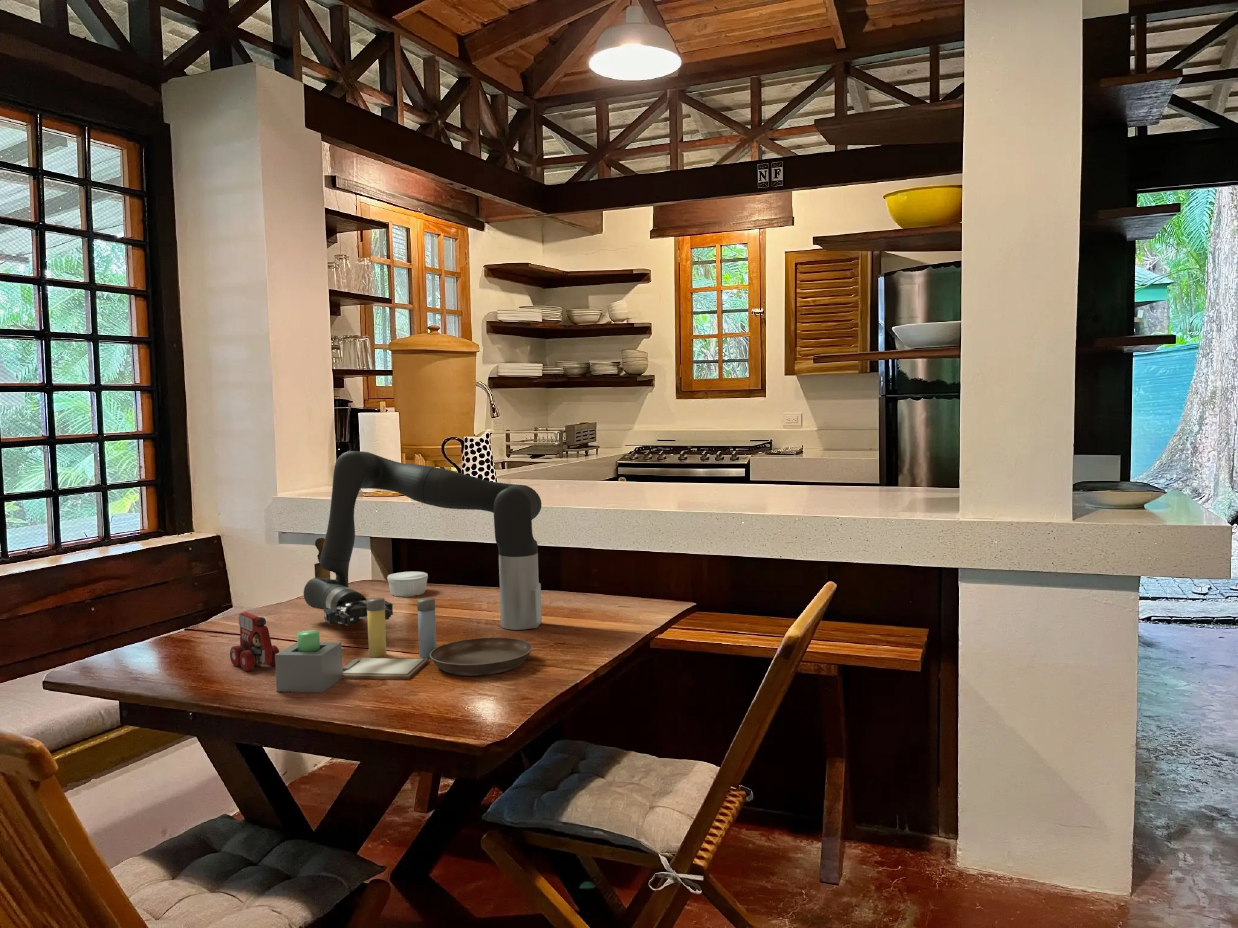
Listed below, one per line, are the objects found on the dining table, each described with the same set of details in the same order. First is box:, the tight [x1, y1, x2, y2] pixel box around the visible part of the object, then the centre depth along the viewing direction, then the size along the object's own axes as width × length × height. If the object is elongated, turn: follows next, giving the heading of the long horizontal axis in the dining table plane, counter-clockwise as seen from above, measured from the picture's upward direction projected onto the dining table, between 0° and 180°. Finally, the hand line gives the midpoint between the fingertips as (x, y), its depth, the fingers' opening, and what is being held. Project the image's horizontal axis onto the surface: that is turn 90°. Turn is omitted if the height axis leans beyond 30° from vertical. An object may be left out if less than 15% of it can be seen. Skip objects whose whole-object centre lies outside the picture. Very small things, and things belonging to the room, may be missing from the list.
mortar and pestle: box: [313, 537, 331, 579], centre depth 241 cm, size 7×6×18 cm
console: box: [274, 641, 344, 693], centre depth 173 cm, size 9×9×7 cm
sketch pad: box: [342, 657, 430, 680], centre depth 182 cm, size 15×12×1 cm
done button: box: [296, 629, 321, 652], centre depth 172 cm, size 4×4×4 cm
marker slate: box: [416, 597, 437, 659], centre depth 190 cm, size 4×4×12 cm
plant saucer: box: [430, 636, 533, 677], centre depth 184 cm, size 21×21×3 cm
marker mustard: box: [366, 597, 387, 658], centre depth 192 cm, size 4×4×12 cm
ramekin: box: [386, 571, 429, 598], centre depth 254 cm, size 11×11×5 cm
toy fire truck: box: [229, 611, 280, 672], centre depth 186 cm, size 7×12×10 cm, turn 45°
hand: (368, 617), depth 196 cm, fingers open, 8 cm apart
